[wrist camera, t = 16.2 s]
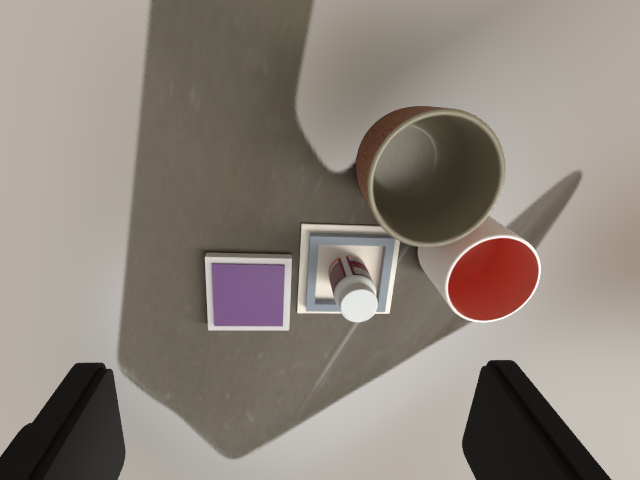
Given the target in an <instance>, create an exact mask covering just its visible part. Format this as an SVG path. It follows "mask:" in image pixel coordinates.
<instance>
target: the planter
mask: <svg viewBox="0 0 640 480" xmlns="http://www.w3.org/2000/svg"><path fill="white" fill-rule="evenodd" d="M356 174H357V179H358V184H359V187H360V190H361V192H362V194H363V197H364V199H365V201H366V203H367V204H368V206H369V208H370V210H371V212H372V214H373V215H374V217H375V219H376V221H377V222H378V224H379V225H380V226H381V227H382V228H383V229H384V230H385V231H386V232H387V233H388V234H389V235H390V236H392V237H393V238H395V239H397V240H398V241H401V242H403V243H405V244H408V245H412V246H417V247H437V246H443V245H447V244H450V243H453V242H455V241H457V240H460V239H462V238H463V237H465V236H467V235H468V234H470V233H471V232H473V231H474V230H475V229H476V228H478V227H479V226H480V225H481V224H482V223H483V222H484V221H485V220H486V218H487V217H488V216H489V215H490V213H491V212H492V210H493V209H494V207H495V205H496V204H497V201H498V199H499V197H500V195H501V192H502V189H503V185H504V179H505V158H504V154H503V150H502V146H501V144H500V142H499V140H498V138H497V136H496V135H495V133H494V132H493V131H492V129H491V128H490V127H489V126H488V125H487V124H486V123H485V122H483V121H482V120H481V119H479V118H478V117H476V116H475V115H472V114H470V113H468V112H465V111H462V110H457V109H449V108H440V107H428V106H415V107H407V108H402V109H399V110H396V111H393V112H391V113H389V114H387V115H385V116H384V117H382V118H381V119H380V120H378V121H377V122H376V123H375V124H374V125H373V126H372V127H371V128H370V129H369V130H368V132H367V133H366V134H365V136H364V138H363V140H362V142H361V144H360V146H359V150H358V153H357V158H356Z"/></svg>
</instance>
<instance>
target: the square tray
mask: <svg viewBox="0 0 640 480" xmlns="http://www.w3.org/2000/svg"><path fill="white" fill-rule="evenodd" d="M399 245H400V241H398V240H397V239H395V238H393V237H392V236H390V235H389V234H388V233H387V232H386V231H385V230H384V229H383V228H382V227H381V226H371V225H338V224H305V223H302V225H301V246H300V266H299V286H298V306H297V313H341V311H340V308H339V307H338V306H337V305H336V303H335V300H334V296H333V292H332V288H331V284H330V280H329V276H328V270H329V266H330V264H331V262H332V261H333V260H334V259H335V258H337V257H338V256H340V255H344V254H353V255H356V256H358V257H360V258H361V259H362V260H363V262H364V263H365V265H366V268H367V270H368V272H369V274H370V276H371V278H372V281H373V283H374V284H375V287H376V298H377V301H378V307H377V310H376V312H375V314H389V313H390V306H391V299H392V293H393V286H394V279H395V272H396V266H397V259H398V252H399Z"/></svg>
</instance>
